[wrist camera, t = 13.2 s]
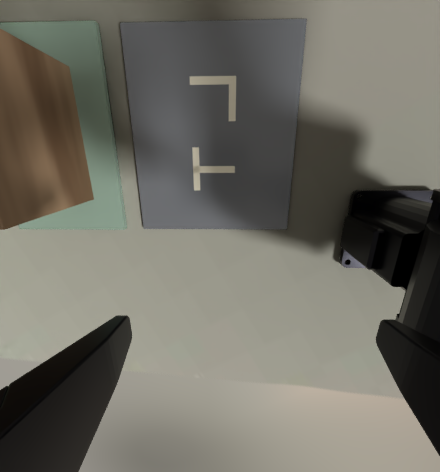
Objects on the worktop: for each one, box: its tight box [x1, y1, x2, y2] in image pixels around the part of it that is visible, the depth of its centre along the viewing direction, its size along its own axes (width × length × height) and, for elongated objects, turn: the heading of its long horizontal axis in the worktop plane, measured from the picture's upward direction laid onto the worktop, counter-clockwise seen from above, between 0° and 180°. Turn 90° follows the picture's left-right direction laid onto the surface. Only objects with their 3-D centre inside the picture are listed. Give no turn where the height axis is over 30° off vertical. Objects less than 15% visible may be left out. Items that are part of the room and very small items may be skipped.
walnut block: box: [0, 29, 94, 229], centre depth 14 cm, size 5×9×8 cm, turn 1°
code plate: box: [120, 19, 307, 229], centre depth 17 cm, size 12×14×1 cm
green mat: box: [0, 21, 127, 230], centre depth 18 cm, size 9×14×1 cm, turn 0°
